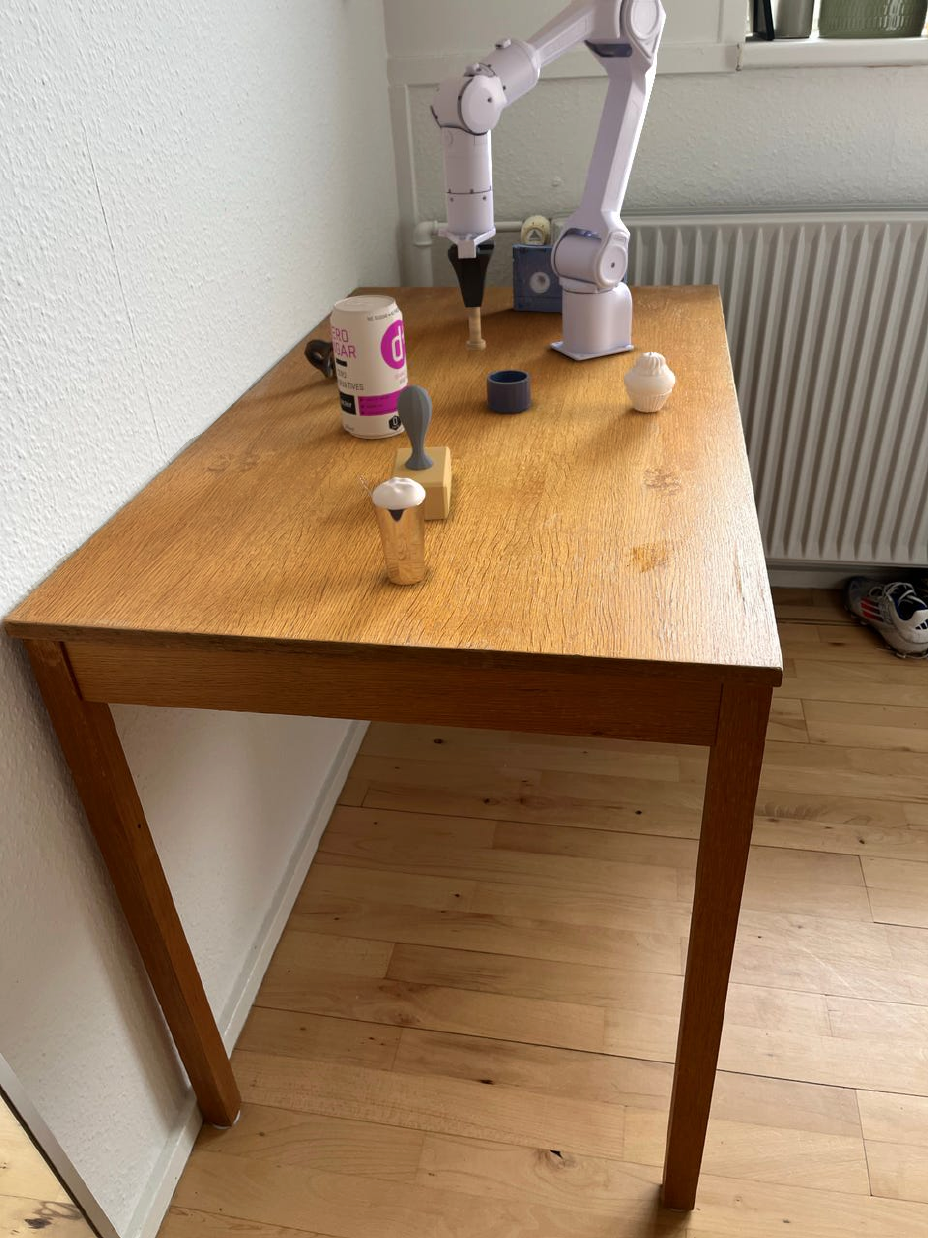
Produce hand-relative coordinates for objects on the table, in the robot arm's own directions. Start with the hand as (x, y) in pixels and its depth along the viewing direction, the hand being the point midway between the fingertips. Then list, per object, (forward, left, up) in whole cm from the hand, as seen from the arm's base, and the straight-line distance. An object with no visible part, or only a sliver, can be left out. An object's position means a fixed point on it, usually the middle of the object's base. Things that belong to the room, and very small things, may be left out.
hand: (474, 304), depth 123 cm
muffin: (-14, +20, -11) cm, 26 cm away
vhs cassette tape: (-28, -23, -11) cm, 38 cm away
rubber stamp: (+20, +29, -11) cm, 37 cm away
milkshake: (+28, +43, -11) cm, 53 cm away
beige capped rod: (0, 0, -6) cm, 6 cm away
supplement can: (+17, +8, -11) cm, 22 cm away
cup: (0, +10, -10) cm, 14 cm away
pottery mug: (+14, -10, -11) cm, 21 cm away
